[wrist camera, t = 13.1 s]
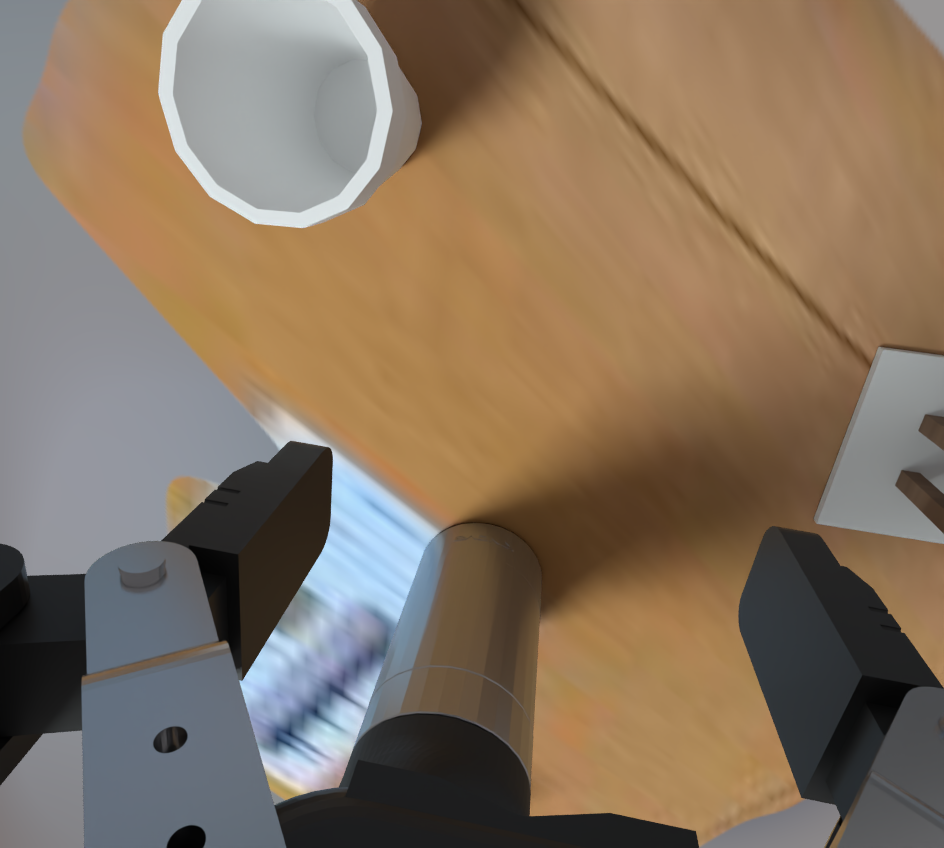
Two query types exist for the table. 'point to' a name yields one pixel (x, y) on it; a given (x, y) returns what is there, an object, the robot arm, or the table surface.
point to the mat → (888, 449)
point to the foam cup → (286, 105)
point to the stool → (916, 486)
